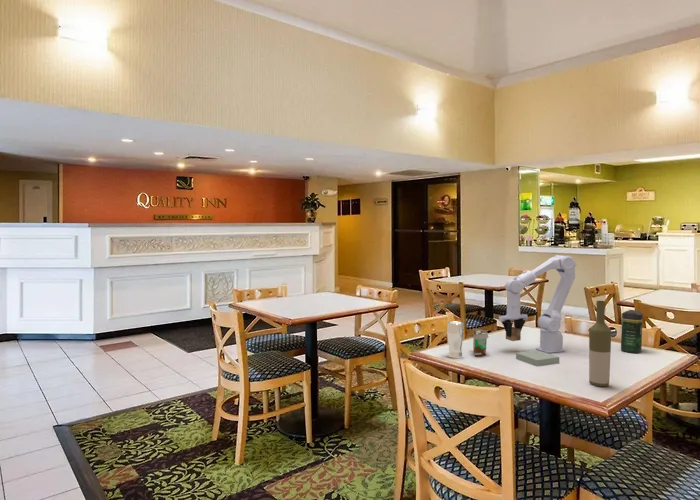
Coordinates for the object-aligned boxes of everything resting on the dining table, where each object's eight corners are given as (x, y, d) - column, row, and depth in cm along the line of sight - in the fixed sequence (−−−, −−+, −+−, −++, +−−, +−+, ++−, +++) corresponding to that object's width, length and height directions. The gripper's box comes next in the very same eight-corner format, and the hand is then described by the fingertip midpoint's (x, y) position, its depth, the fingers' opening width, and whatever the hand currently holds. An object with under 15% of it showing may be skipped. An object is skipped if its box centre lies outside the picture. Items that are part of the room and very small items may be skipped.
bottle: (589, 386, 167) (590, 302, 166) (587, 380, 174) (588, 299, 172) (611, 388, 165) (613, 303, 163) (608, 382, 171) (610, 300, 170)
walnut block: (513, 338, 218) (513, 327, 217) (520, 340, 213) (520, 329, 213) (505, 338, 216) (505, 328, 216) (512, 341, 212) (512, 330, 212)
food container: (489, 358, 204) (489, 335, 204) (474, 357, 205) (474, 334, 205) (487, 350, 216) (487, 329, 216) (473, 350, 217) (473, 328, 217)
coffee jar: (639, 354, 209) (640, 312, 208) (619, 351, 214) (620, 310, 213) (643, 350, 216) (644, 309, 215) (623, 347, 221) (624, 308, 220)
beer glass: (466, 356, 207) (466, 322, 206) (458, 359, 202) (458, 324, 201) (452, 353, 212) (452, 320, 211) (443, 356, 207) (444, 322, 206)
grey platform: (537, 356, 207) (537, 350, 207) (559, 364, 196) (559, 357, 196) (516, 359, 203) (516, 352, 203) (536, 367, 192) (536, 360, 192)
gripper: (519, 303, 220) (519, 332, 221) (494, 305, 215) (494, 335, 216) (530, 305, 214) (530, 335, 214) (505, 308, 208) (504, 338, 209)
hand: (513, 335), depth 215 cm, fingers closed on walnut block, 4 cm apart
